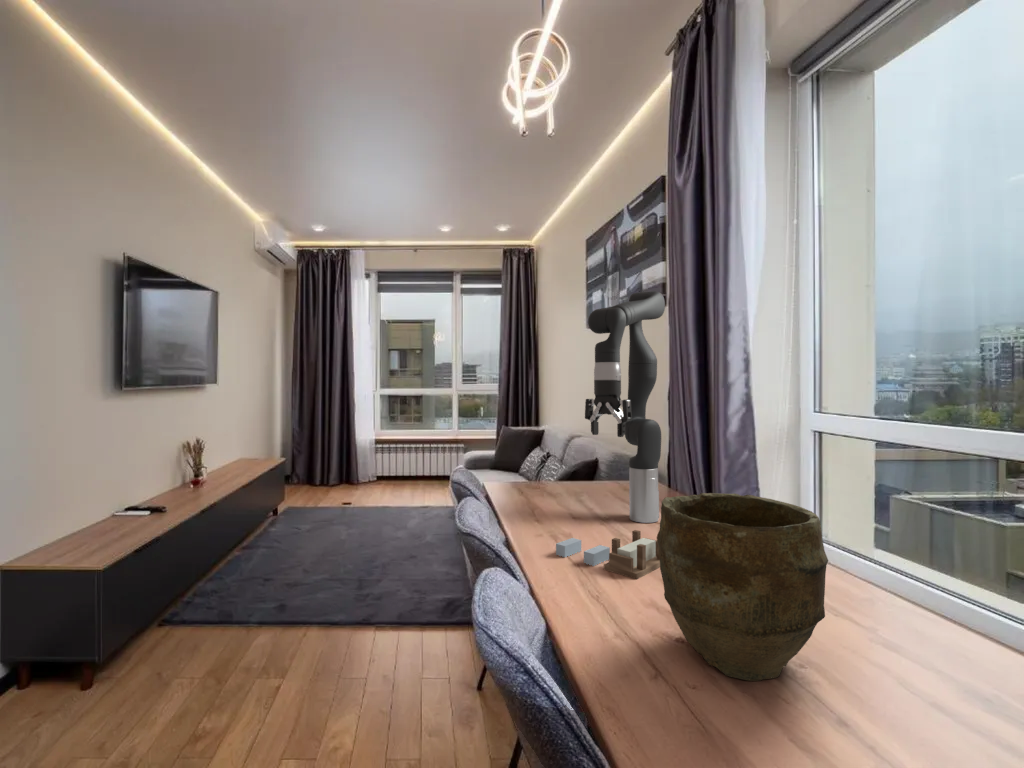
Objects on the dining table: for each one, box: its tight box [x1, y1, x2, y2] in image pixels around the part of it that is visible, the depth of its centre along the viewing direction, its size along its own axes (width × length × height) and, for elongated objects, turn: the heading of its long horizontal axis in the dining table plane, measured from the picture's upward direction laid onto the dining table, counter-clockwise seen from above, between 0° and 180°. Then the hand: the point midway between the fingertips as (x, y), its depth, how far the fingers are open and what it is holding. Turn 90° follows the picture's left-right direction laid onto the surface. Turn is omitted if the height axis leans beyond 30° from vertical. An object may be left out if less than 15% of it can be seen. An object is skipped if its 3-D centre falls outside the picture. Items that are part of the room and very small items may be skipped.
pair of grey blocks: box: [555, 537, 611, 567], centre depth 132 cm, size 7×12×3 cm, turn 45°
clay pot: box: [656, 492, 829, 682], centre depth 84 cm, size 25×25×25 cm
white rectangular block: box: [617, 537, 656, 567], centre depth 126 cm, size 4×12×4 cm, turn 136°
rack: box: [603, 529, 660, 580], centre depth 126 cm, size 17×9×7 cm, turn 135°
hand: (607, 435), depth 145 cm, fingers open, 8 cm apart
